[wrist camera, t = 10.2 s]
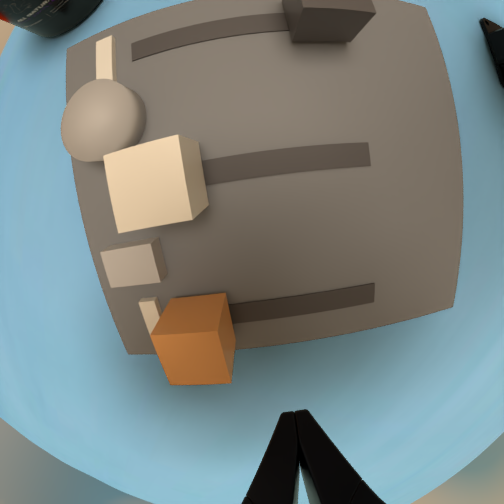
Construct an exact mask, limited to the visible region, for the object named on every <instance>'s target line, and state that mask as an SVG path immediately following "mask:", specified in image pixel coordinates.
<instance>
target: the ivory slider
mask: <svg viewBox="0 0 504 504" xmlns="http://www.w3.org/2000/svg"><path fill="white" fill-rule="evenodd" d="M103 158H104V164H105V171H106V177H107V182H108V188H109V193H110V198H111V203H112V208H113V213H114V217H115V222H116V226H117V230H118V233H123V232H128V231H133V230H139V229H144V228H149V227H155V226H160V225H166V224H171V223H177V222H183V221H189V220H193V219H194V218H195V217H196V216H197V215H198V214H200V213H201V212H202V211H203V210H204V209H205V208H206V207H207V206H208V205H209V203H208V197H207V191H206V185H205V179H204V173H203V167H202V161H201V155H200V149H199V142H198V141H195V140H192V139H189V138H187V137H184V136H181V135H173V136H169V137H165V138H161V139H157V140H154V141H150V142H146V143H143V144H139V145H136V146H132V147H129V148H126V149H122V150H119V151H116V152H113V153H110V154H107V155H104V156H103Z"/></svg>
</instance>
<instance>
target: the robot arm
mask: <svg viewBox="0 0 504 504" xmlns="http://www.w3.org/2000/svg"><path fill="white" fill-rule="evenodd" d="M480 22H481V24H482V27H483V29H484V32H485V34H486V37H487V40H488V42H489V45H490V48H491V51H492V54H493V57H494V61H495V64H496V67H497V71H498V74H499V78H500V82H501V84H502V86H503V87H504V28H502V27H500V26H499V25H497V24H495V23H493V22H491V21H489V20H488V19H486V18H482V19H480ZM299 462H300V465H299ZM300 468H301V473H302V477H303V481H304V484H305V488H306V492H307V496H308V499H309V503H310V504H386V503H385V502H384V501H382V500H381V499H380V498H379V497H378V496H377V495H376V494H375V493H374V492H373V490H372V489H371V488H370V487H369V486H368V485H367V484H366V483H365V481H364V480H362V478H361V477H360V476H359V474H358V473H357V472H356V471H355V470H354V468H353V467H352V466H351V465H350V463H349V462H348V461H347V460H346V458H345V457H344V456H343V455H342V453H341V452H340V451H339V450H338V448H337V447H336V446H335V445H334V443H333V442H332V441H331V440H330V438H329V437H328V436H327V434H326V433H325V432H324V431H323V429H322V428H321V427H320V425H319V424H318V423H317V421H316V420H315V419H314V418H313V416H312V415H311V414H310V412H309V411H308V410H306V409H304V410H297V411H295V413H294V412H293V411H290V412H283V413H281V415H280V418H279V420H278V423H277V425H276V428H275V430H274V433H273V435H272V438H271V440H270V442H269V445H268V447H267V450H266V452H265V454H264V457H263V459H262V461H261V463H260V466H259V468H258V470H257V472H256V475H255V477H254V479H253V481H252V483H251V485H250V488H249V490H248V492H247V494H246V497H245V498H244V500H243V502H242V504H298V491H299V474H300ZM361 480H362V481H361Z"/></svg>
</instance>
